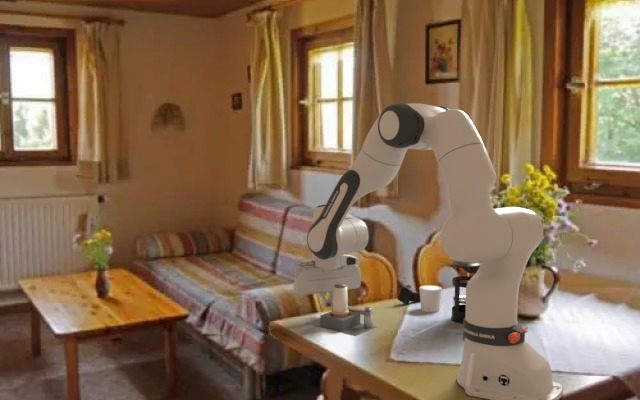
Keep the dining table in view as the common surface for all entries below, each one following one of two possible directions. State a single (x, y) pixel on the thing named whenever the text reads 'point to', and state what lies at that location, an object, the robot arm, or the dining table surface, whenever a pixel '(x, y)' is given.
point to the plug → (340, 301)
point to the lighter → (408, 295)
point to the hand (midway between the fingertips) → (327, 306)
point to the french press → (459, 310)
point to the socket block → (344, 323)
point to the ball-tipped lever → (359, 310)
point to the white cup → (430, 298)
